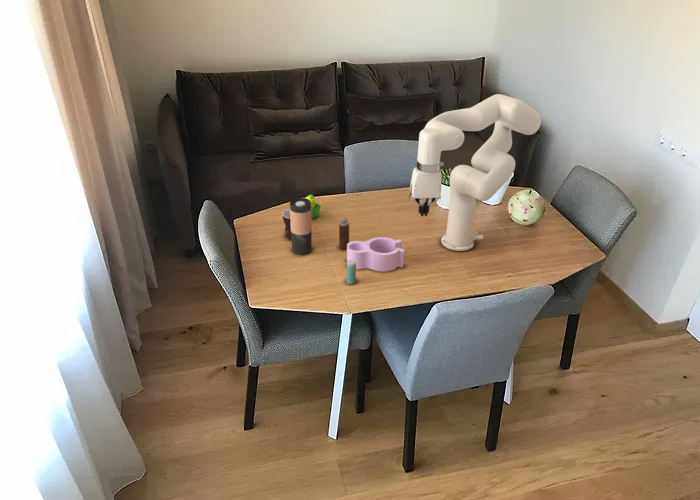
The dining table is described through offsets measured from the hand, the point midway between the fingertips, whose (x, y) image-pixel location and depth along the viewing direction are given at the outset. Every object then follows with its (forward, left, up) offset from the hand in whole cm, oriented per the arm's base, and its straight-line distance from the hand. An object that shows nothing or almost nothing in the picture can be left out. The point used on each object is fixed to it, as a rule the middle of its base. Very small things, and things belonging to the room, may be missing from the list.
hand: (423, 214), depth 206 cm
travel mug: (+42, -11, -19) cm, 48 cm away
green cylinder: (+26, +11, -19) cm, 35 cm away
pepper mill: (+26, -12, -19) cm, 35 cm away
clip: (+16, 0, -19) cm, 25 cm away
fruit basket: (+39, -36, -19) cm, 57 cm away
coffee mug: (+44, -23, -19) cm, 54 cm away
